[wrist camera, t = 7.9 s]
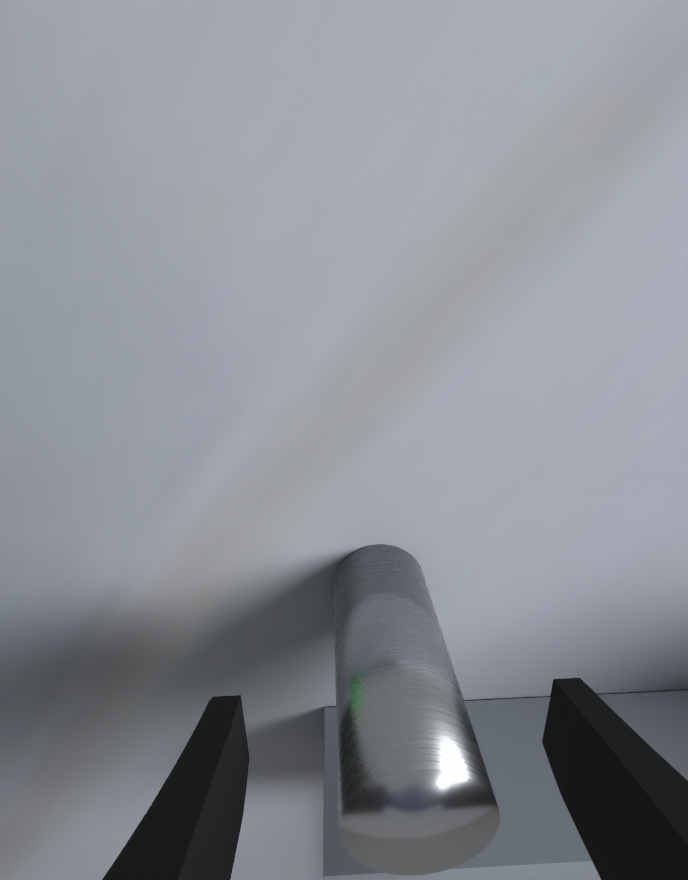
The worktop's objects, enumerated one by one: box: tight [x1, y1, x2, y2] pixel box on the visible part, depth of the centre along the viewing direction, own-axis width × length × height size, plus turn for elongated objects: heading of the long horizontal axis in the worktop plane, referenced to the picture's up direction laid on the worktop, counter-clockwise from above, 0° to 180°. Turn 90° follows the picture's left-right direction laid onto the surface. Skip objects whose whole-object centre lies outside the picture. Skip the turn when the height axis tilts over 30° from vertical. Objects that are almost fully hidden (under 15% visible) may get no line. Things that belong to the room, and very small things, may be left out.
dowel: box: [334, 545, 500, 876], centre depth 12 cm, size 3×3×7 cm
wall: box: [323, 690, 688, 880], centre depth 15 cm, size 14×2×5 cm, turn 91°
